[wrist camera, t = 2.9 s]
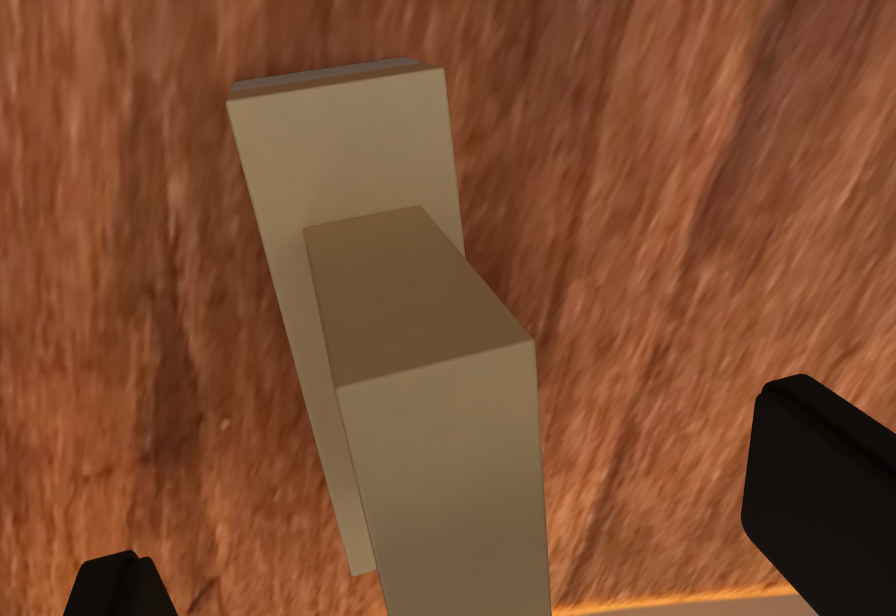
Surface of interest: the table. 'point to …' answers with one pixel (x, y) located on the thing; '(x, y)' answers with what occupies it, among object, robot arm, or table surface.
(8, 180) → the table surface
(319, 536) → the table surface
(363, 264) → the wooden block stamp
